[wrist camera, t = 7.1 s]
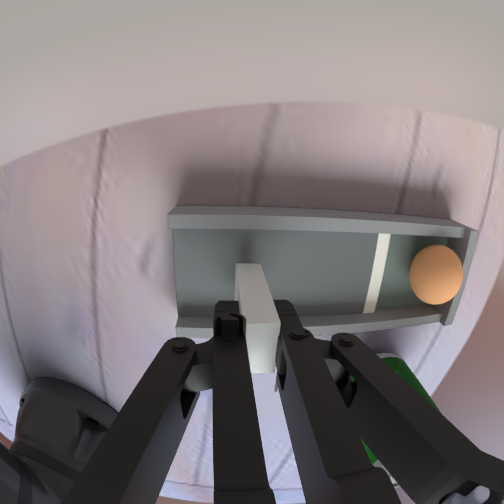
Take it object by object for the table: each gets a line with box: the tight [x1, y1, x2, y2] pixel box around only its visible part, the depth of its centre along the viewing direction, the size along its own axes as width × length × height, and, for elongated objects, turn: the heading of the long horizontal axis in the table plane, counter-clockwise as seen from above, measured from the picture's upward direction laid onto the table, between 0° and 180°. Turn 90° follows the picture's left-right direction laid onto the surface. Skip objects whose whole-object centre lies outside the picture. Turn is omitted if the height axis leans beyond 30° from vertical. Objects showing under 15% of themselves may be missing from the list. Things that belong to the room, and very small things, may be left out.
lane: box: [168, 206, 478, 338], centre depth 19 cm, size 22×8×4 cm, turn 88°
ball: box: [409, 245, 463, 305], centre depth 18 cm, size 4×4×4 cm
